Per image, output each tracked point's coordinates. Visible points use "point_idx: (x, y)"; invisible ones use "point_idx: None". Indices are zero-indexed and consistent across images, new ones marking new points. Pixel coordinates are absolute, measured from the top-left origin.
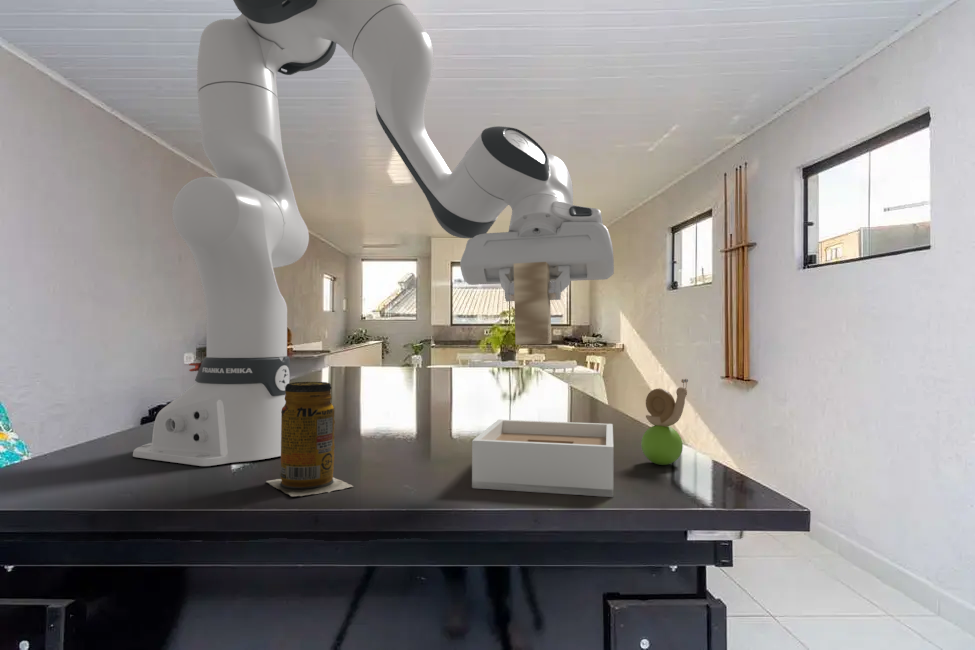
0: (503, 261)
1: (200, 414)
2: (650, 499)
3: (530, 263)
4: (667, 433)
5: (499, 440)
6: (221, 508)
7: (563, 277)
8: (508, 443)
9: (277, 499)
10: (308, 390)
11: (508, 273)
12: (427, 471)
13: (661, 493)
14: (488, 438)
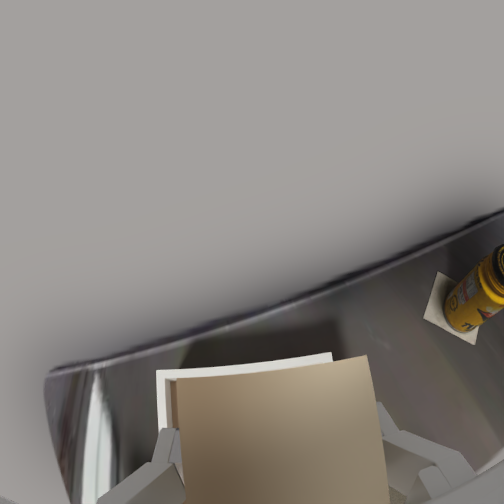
0: (485, 484)
1: None
2: (140, 382)
3: (268, 371)
4: None
5: (298, 365)
6: (453, 240)
7: (131, 475)
8: (284, 359)
9: (444, 268)
10: (494, 250)
11: (420, 470)
12: (397, 405)
13: (129, 404)
14: None
